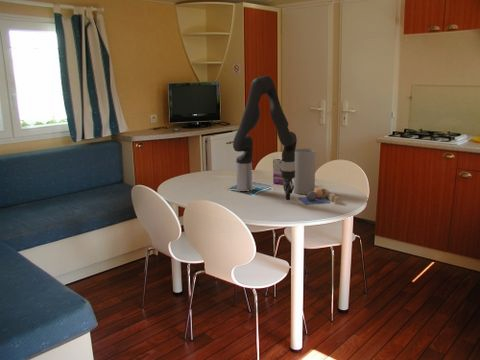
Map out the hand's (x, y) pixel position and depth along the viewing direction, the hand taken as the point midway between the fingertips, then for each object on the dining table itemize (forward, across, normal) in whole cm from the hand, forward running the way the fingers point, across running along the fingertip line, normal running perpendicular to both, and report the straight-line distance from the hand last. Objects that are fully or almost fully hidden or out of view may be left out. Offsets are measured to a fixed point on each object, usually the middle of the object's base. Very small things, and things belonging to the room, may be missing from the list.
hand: (287, 199), depth 251 cm
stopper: (+2, 0, +24) cm, 25 cm away
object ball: (-1, -3, +19) cm, 19 cm away
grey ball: (-1, +1, +13) cm, 13 cm away
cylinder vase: (+2, -18, +16) cm, 24 cm away
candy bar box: (+2, -41, +10) cm, 42 cm away
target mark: (+2, 0, +15) cm, 15 cm away
